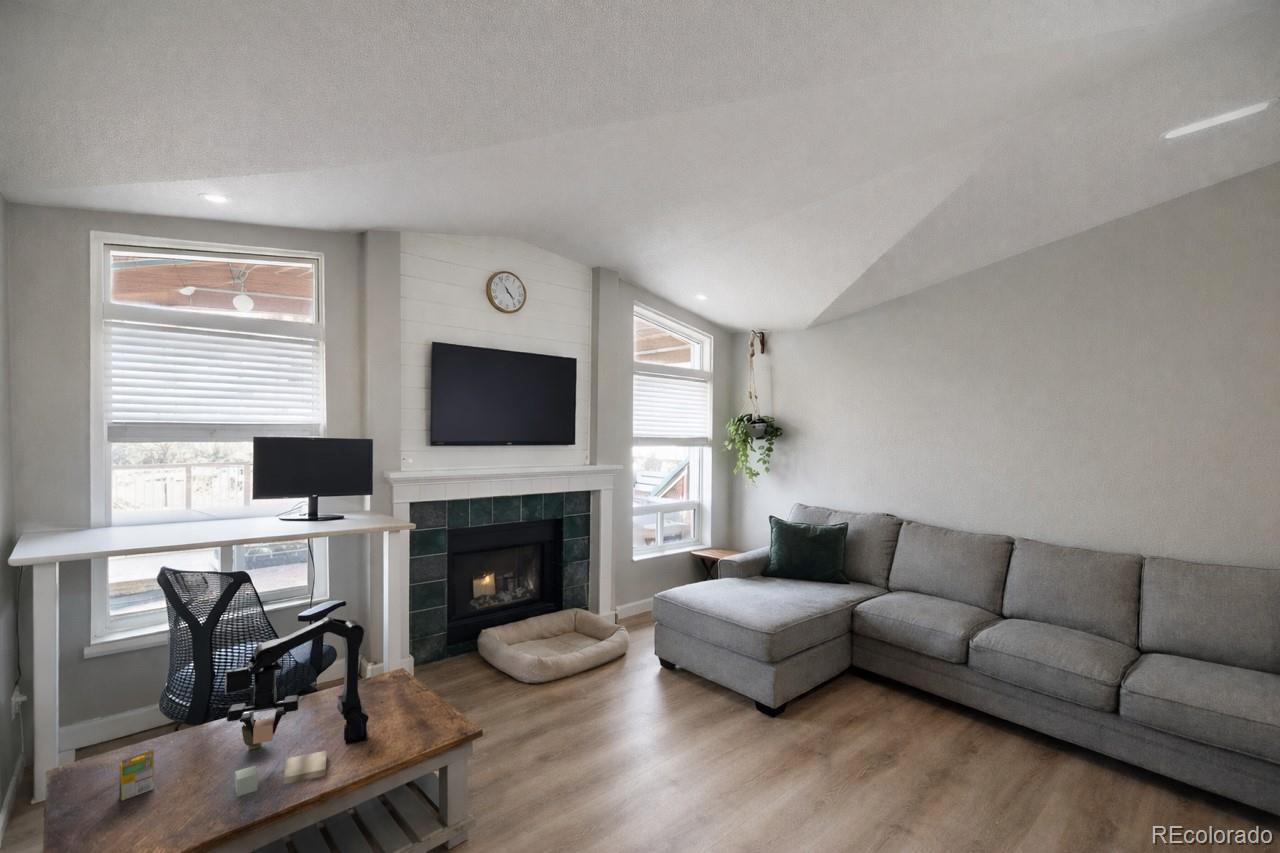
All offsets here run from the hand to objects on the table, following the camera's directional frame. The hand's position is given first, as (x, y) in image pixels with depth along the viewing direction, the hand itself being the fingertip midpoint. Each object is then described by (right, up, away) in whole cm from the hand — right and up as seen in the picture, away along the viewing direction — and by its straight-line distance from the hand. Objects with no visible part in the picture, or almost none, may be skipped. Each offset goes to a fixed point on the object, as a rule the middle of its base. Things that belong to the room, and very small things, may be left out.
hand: (264, 734), depth 187 cm
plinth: (+14, -10, -2) cm, 18 cm away
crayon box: (-27, -9, -15) cm, 32 cm away
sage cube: (+2, -10, -12) cm, 16 cm away
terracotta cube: (0, -1, 0) cm, 1 cm away
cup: (-9, -9, +9) cm, 16 cm away
